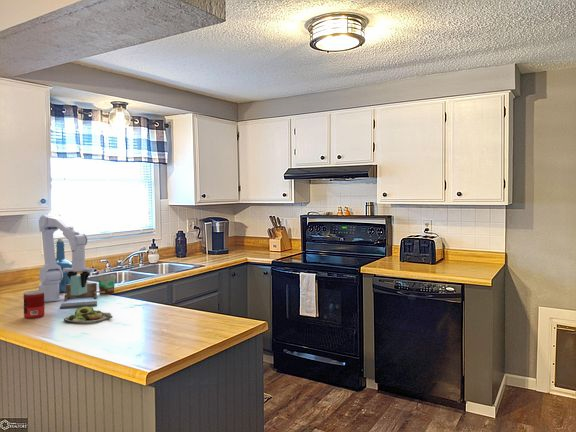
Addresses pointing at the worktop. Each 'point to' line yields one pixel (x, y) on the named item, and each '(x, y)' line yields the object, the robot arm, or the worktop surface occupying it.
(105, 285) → the food container
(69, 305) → the rubber mat
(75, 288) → the pale green block
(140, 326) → the worktop surface
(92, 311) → the salad plate
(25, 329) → the worktop surface
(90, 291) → the brown banded box
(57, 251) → the wine bottle
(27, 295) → the canned food
